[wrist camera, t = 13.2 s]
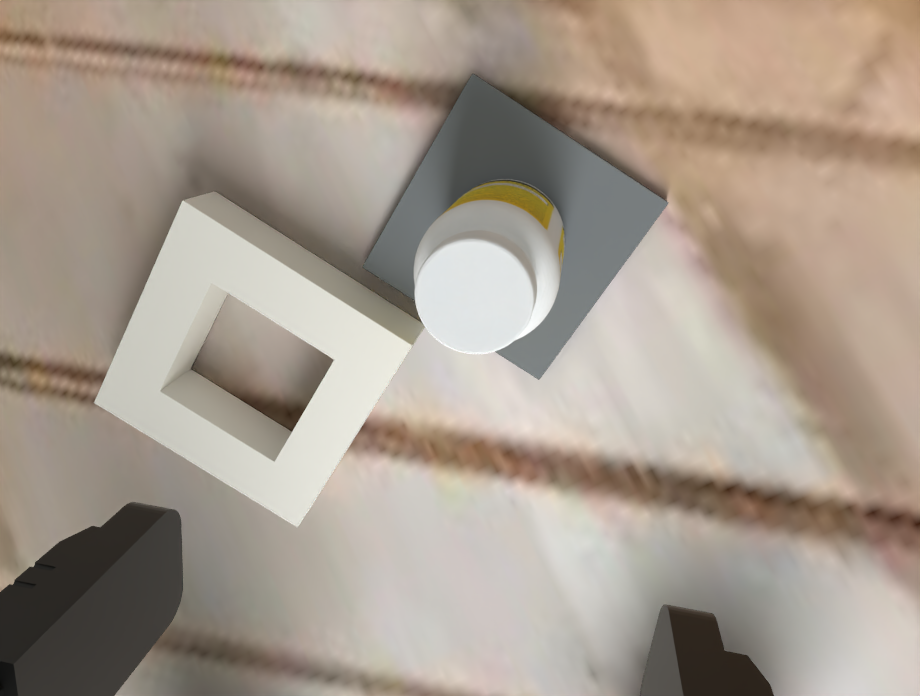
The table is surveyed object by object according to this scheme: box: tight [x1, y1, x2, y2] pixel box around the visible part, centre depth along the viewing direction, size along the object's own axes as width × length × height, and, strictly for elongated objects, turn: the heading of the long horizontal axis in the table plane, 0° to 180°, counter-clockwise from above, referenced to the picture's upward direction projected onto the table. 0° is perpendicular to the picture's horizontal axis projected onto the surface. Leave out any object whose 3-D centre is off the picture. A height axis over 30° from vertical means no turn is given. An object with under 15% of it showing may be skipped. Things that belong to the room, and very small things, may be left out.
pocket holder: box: [94, 191, 425, 528], centre depth 35 cm, size 12×12×3 cm
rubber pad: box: [363, 74, 668, 380], centre depth 33 cm, size 10×10×1 cm
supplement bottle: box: [414, 179, 565, 354], centre depth 28 cm, size 5×5×10 cm
